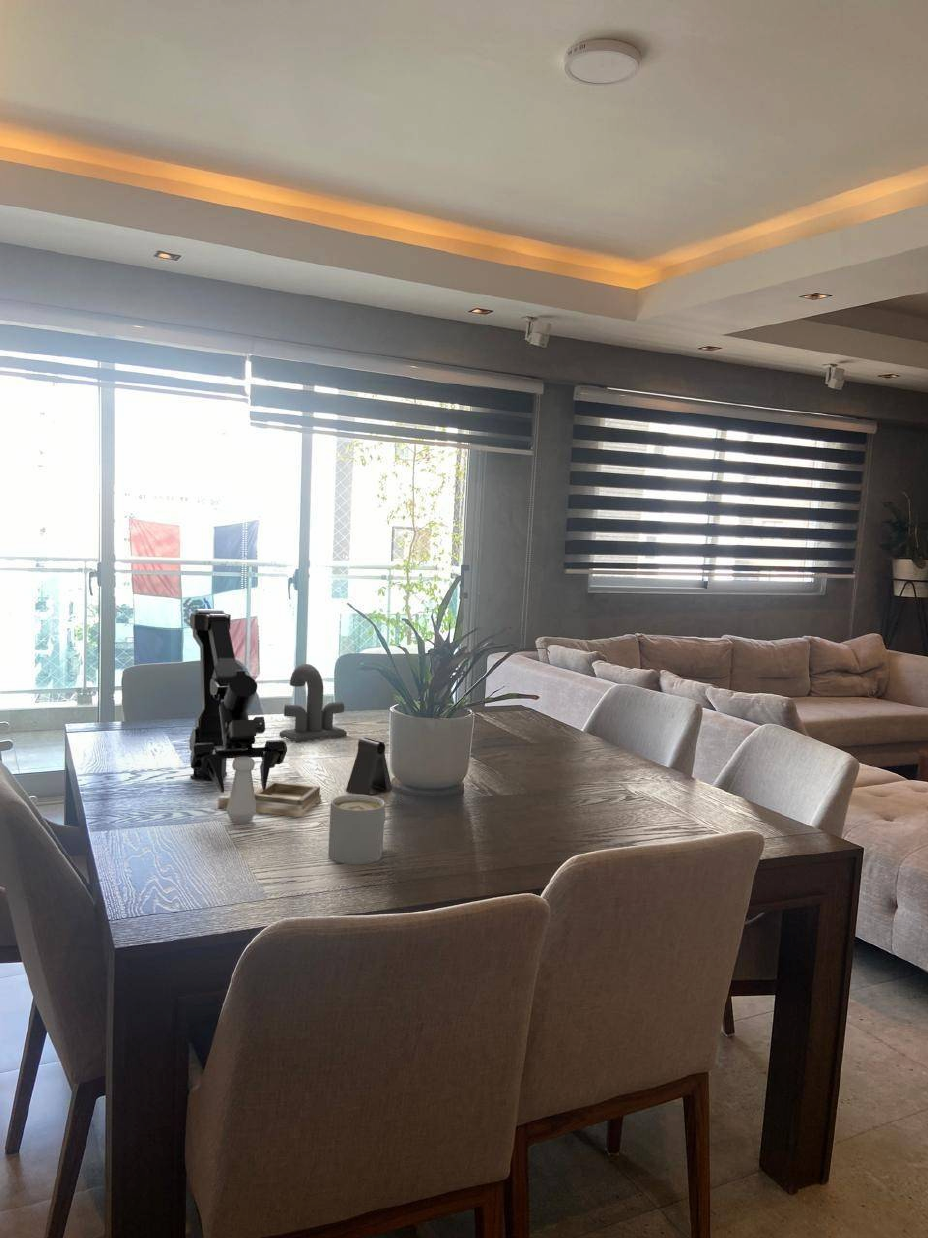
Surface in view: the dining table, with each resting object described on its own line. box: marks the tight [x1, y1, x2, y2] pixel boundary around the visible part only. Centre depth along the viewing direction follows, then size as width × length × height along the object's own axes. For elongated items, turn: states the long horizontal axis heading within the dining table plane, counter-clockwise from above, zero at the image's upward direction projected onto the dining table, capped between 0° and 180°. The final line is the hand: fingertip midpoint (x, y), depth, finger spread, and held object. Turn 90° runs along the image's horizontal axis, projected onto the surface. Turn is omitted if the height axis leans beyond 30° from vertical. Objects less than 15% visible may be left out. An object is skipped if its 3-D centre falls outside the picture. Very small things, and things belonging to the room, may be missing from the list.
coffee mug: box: [327, 794, 386, 865], centre depth 174 cm, size 13×10×10 cm
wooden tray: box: [217, 780, 322, 818], centre depth 201 cm, size 18×13×3 cm
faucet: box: [278, 663, 348, 743], centre depth 267 cm, size 18×16×20 cm
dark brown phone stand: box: [345, 737, 393, 797], centre depth 214 cm, size 9×6×12 cm, turn 139°
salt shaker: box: [226, 756, 257, 825], centre depth 188 cm, size 6×6×13 cm
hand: (243, 790), depth 186 cm, fingers open, 8 cm apart
